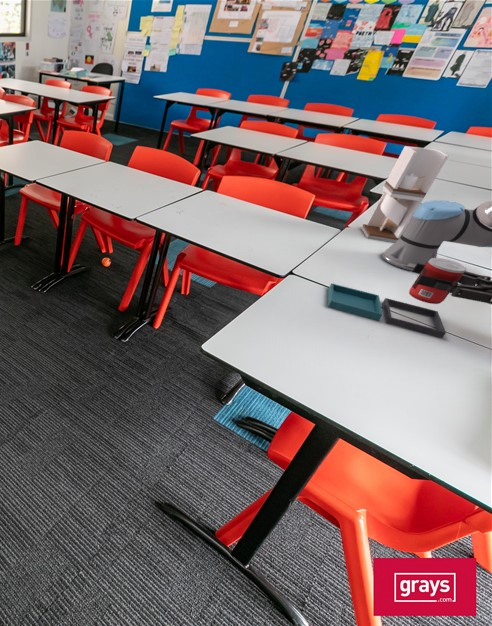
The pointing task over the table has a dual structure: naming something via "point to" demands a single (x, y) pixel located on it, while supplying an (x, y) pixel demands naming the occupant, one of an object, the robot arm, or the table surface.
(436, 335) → the tray
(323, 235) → the table surface
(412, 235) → the robot arm
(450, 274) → the canned food
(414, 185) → the white tiered tower
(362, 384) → the table surface
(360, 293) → the tray
